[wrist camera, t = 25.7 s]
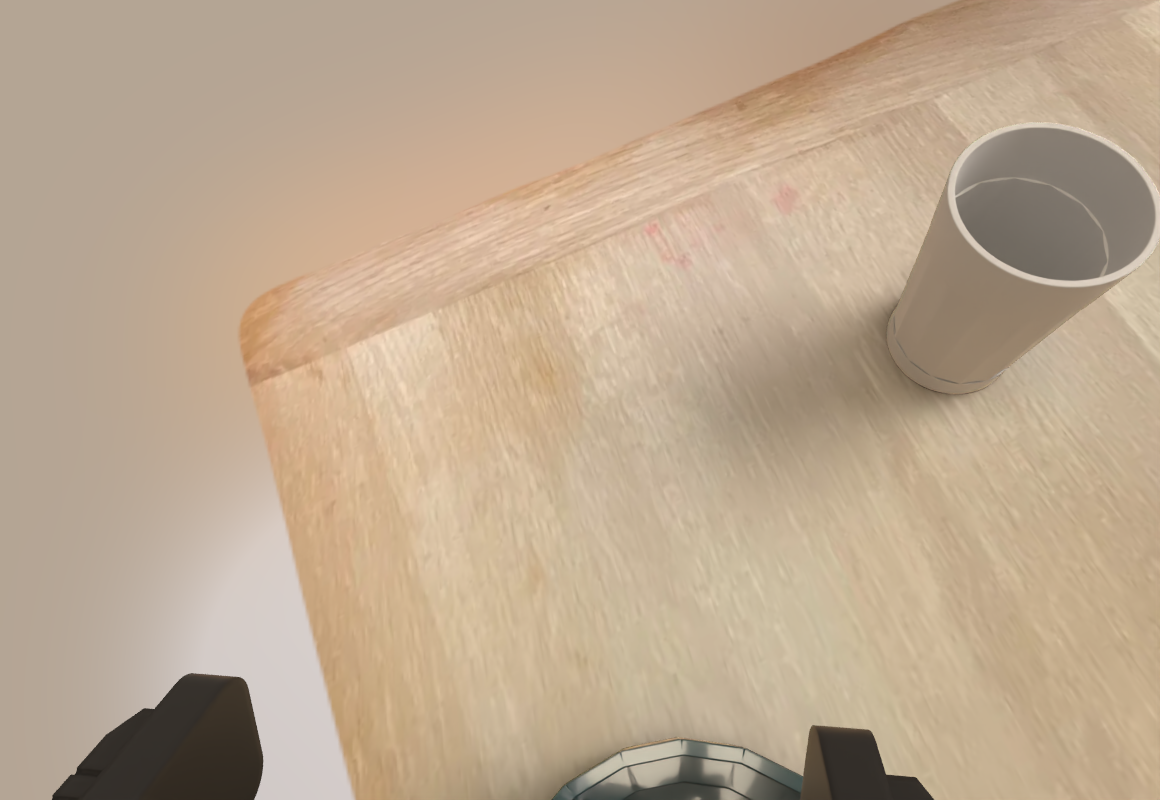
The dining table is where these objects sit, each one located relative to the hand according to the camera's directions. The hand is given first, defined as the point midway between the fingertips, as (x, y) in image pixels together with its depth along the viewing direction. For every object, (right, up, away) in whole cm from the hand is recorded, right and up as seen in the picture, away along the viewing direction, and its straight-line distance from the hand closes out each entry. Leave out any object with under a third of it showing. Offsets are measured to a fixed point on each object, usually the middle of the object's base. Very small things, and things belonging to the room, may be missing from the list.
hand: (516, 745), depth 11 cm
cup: (+21, +8, +31) cm, 38 cm away
